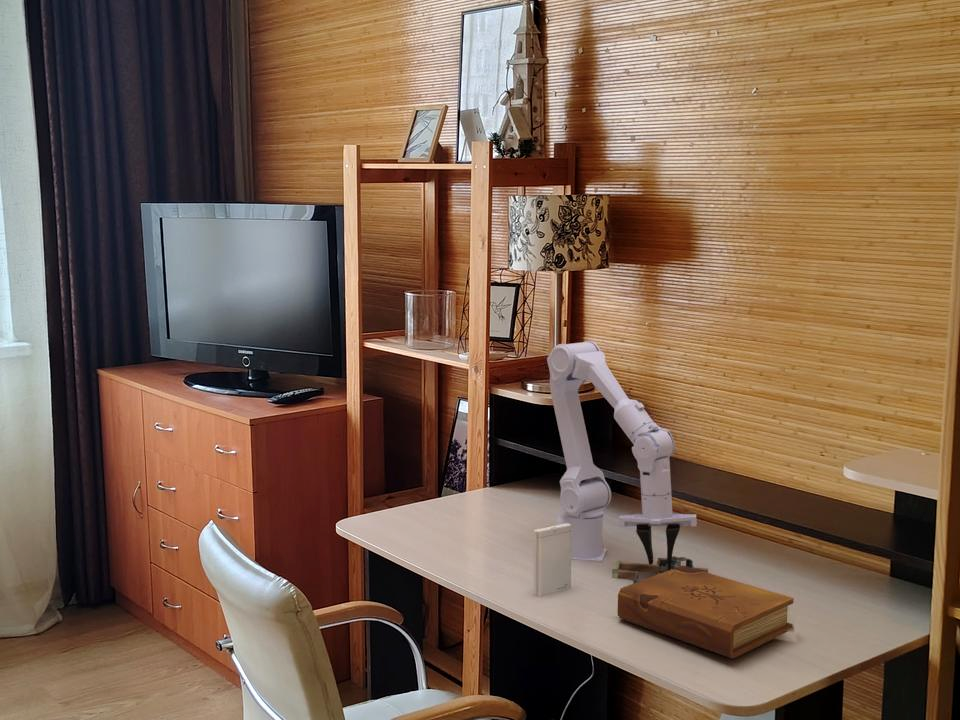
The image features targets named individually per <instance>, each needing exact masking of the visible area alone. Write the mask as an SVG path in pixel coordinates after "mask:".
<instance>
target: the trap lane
mask: <svg viewBox="0 0 960 720" xmlns="http://www.w3.org/2000/svg"><path fill="white" fill-rule="evenodd" d="M666 562H667V557H666V558H665V557H658V558H657V560H656V564H654V563H653V564H649V563H637V562H626V561H625V562H623V561H622V559H615V561H614V564H613V566H612V571H611V575H612V577H611V578H614V579H620V580H627V581H632V582H633V583H632V584H634V583H636V582H639V581H642V580H643V579H641V578H639V577H640V576H639V575H640V574H639V573H644V574H645V573H648V574H655V575H658V574H661V573H663V572H666ZM681 562H682V561H679V562H678V567H680V566H682V565H681V564H682V563H681ZM693 567H694V568H693V569H697V570H700V571H703V572H707V573H709V568H707V567H706V568H705V567H695V566H693Z"/></svg>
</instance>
